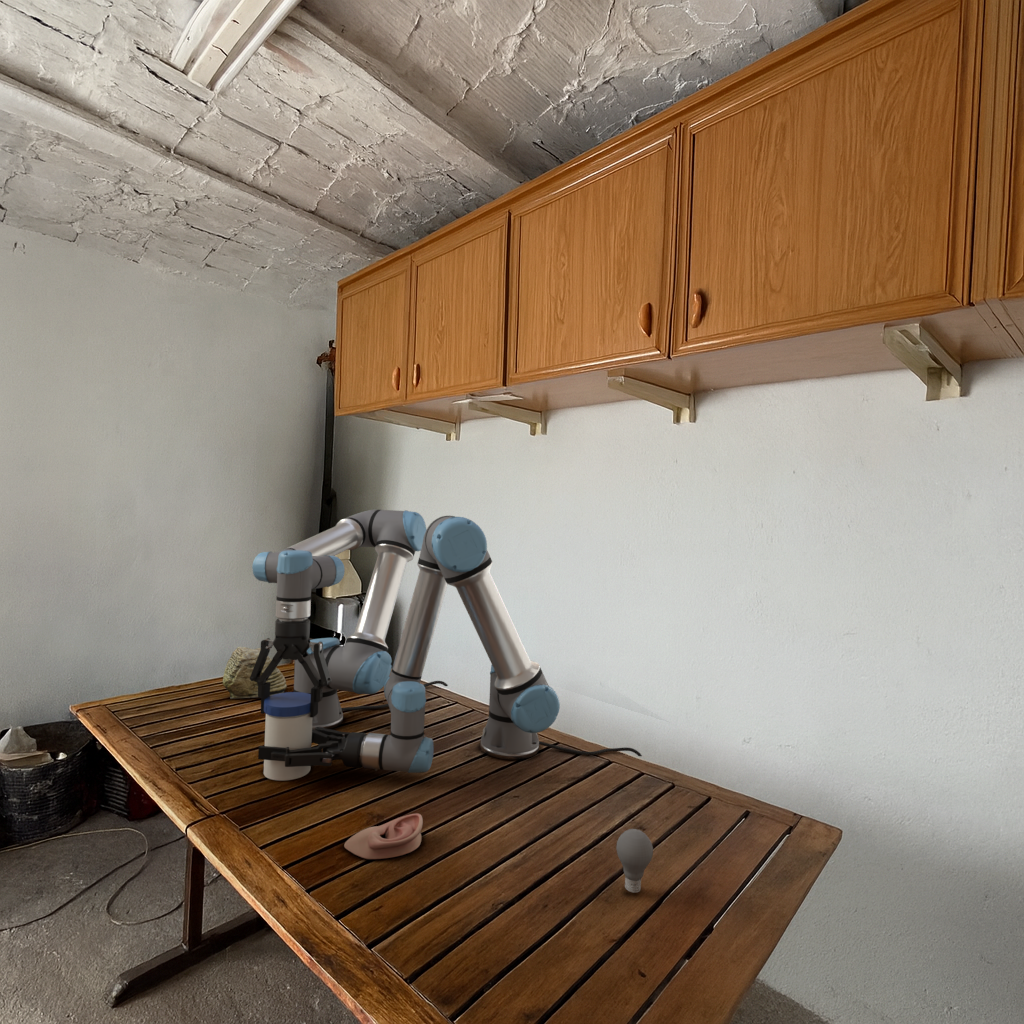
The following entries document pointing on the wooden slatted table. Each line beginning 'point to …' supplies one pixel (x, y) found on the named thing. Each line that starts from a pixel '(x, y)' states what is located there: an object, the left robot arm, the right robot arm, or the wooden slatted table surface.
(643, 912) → the wooden slatted table surface
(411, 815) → the anatomical model
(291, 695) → the lid
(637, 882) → the light bulb
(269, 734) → the jar
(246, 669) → the fossil
